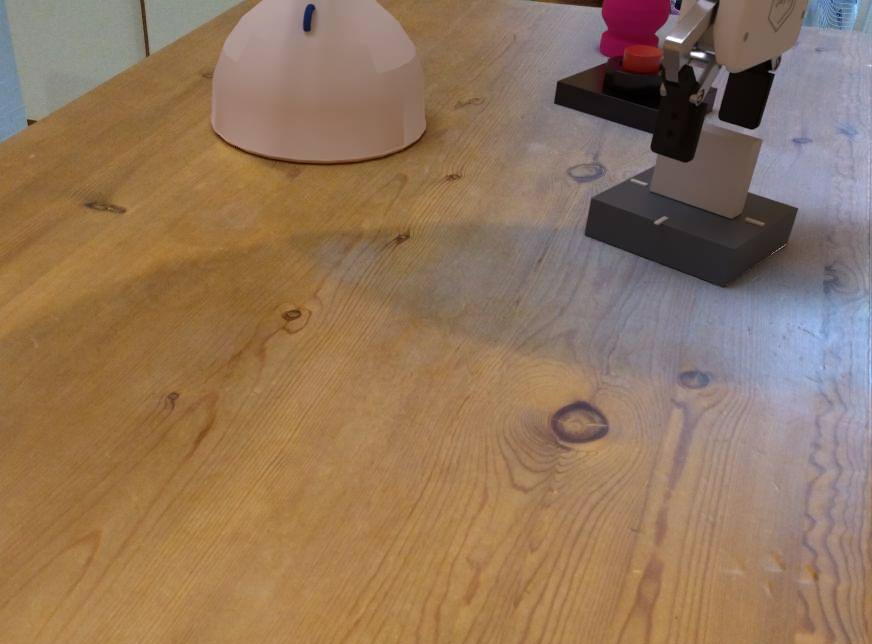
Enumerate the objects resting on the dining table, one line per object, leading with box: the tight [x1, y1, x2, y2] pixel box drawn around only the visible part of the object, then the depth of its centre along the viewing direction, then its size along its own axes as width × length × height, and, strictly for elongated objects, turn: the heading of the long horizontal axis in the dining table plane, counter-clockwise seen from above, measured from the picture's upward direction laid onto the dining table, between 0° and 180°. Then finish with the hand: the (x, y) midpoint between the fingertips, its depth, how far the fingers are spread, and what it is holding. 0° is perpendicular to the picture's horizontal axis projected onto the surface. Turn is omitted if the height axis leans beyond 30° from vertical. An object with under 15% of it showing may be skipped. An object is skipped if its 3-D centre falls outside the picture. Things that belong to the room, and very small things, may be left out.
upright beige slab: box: [650, 121, 764, 219], centre depth 78 cm, size 7×2×6 cm, turn 46°
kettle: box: [209, 0, 427, 165], centre depth 94 cm, size 20×21×18 cm
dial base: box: [584, 165, 799, 288], centre depth 81 cm, size 12×11×3 cm
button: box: [622, 45, 663, 73], centre depth 102 cm, size 4×4×2 cm
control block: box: [553, 55, 719, 135], centre depth 103 cm, size 12×10×4 cm
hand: (705, 139), depth 77 cm, fingers open, 9 cm apart
